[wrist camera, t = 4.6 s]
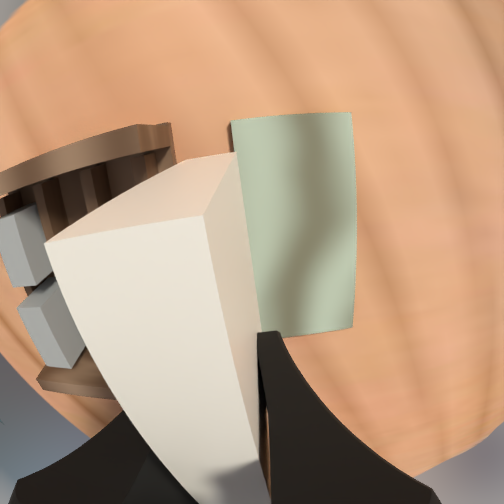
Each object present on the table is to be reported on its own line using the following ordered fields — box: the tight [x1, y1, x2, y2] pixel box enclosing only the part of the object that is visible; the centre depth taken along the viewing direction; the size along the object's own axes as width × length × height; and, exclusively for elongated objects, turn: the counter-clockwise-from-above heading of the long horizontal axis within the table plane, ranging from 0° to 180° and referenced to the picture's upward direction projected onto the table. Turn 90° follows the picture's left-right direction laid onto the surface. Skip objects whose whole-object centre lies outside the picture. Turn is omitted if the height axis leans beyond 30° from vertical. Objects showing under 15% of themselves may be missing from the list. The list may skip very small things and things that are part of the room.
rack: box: [0, 112, 357, 400], centre depth 16 cm, size 24×16×6 cm, turn 97°
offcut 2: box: [17, 277, 86, 369], centre depth 18 cm, size 2×5×4 cm, turn 6°
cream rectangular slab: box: [44, 152, 271, 504], centre depth 9 cm, size 2×12×8 cm, turn 7°
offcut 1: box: [0, 202, 53, 287], centre depth 16 cm, size 2×4×4 cm, turn 7°
